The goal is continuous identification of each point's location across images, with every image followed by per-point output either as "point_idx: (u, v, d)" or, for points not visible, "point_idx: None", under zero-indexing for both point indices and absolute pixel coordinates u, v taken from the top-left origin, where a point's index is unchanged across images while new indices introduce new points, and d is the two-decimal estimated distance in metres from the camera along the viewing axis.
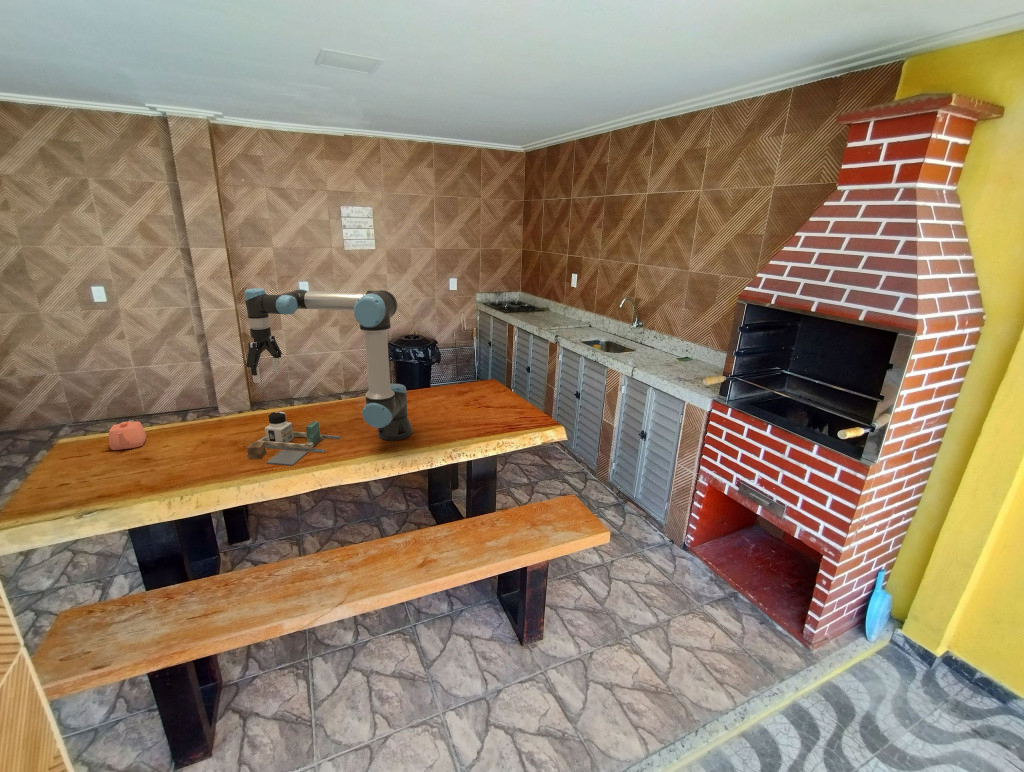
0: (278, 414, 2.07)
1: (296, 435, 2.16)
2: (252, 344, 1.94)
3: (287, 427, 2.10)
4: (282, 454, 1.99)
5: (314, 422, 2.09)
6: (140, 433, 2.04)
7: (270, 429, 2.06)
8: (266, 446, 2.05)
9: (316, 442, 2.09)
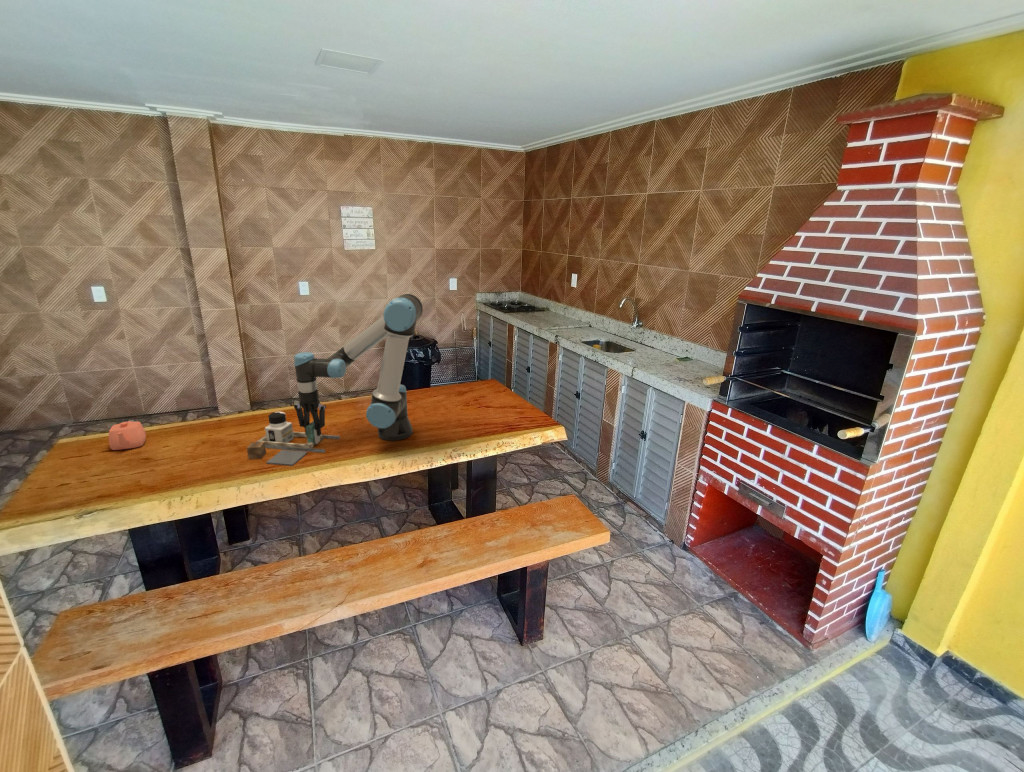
0: (278, 414, 2.07)
1: (296, 435, 2.16)
2: None
3: (287, 427, 2.09)
4: (282, 454, 1.99)
5: None
6: (140, 433, 2.04)
7: (270, 429, 2.06)
8: (266, 446, 2.05)
9: None
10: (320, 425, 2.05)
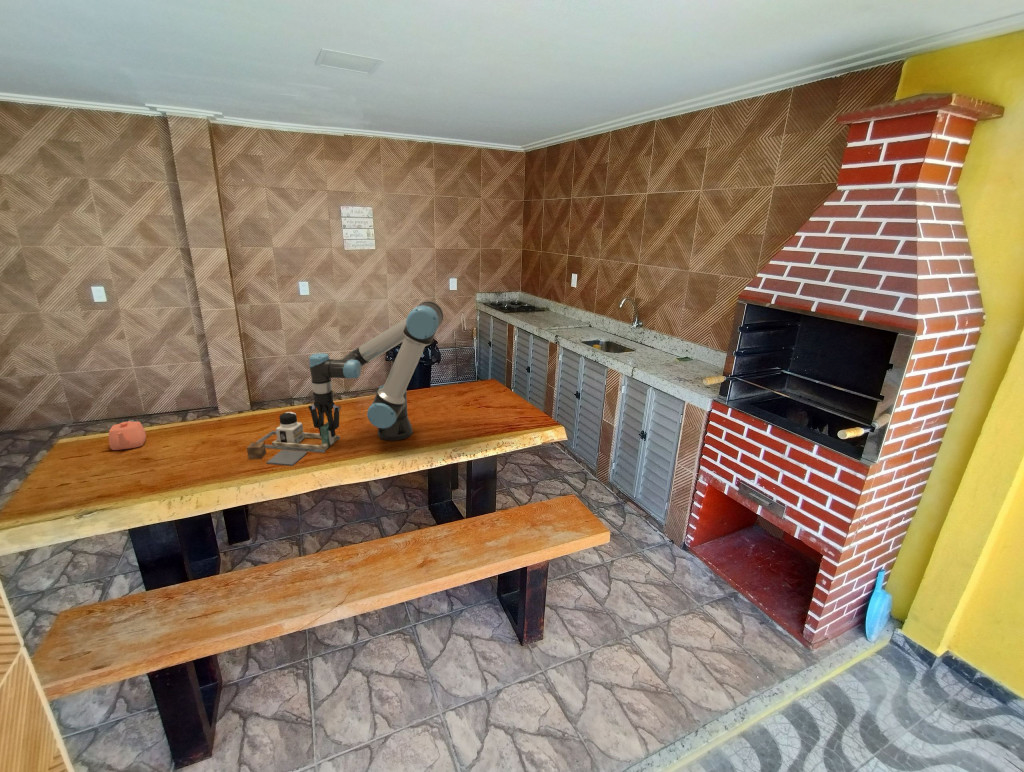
0: (289, 414, 2.07)
1: (309, 436, 2.15)
2: None
3: (298, 427, 2.09)
4: (282, 454, 1.99)
5: None
6: (140, 433, 2.04)
7: (281, 430, 2.06)
8: (266, 446, 2.05)
9: None
10: (335, 426, 2.05)
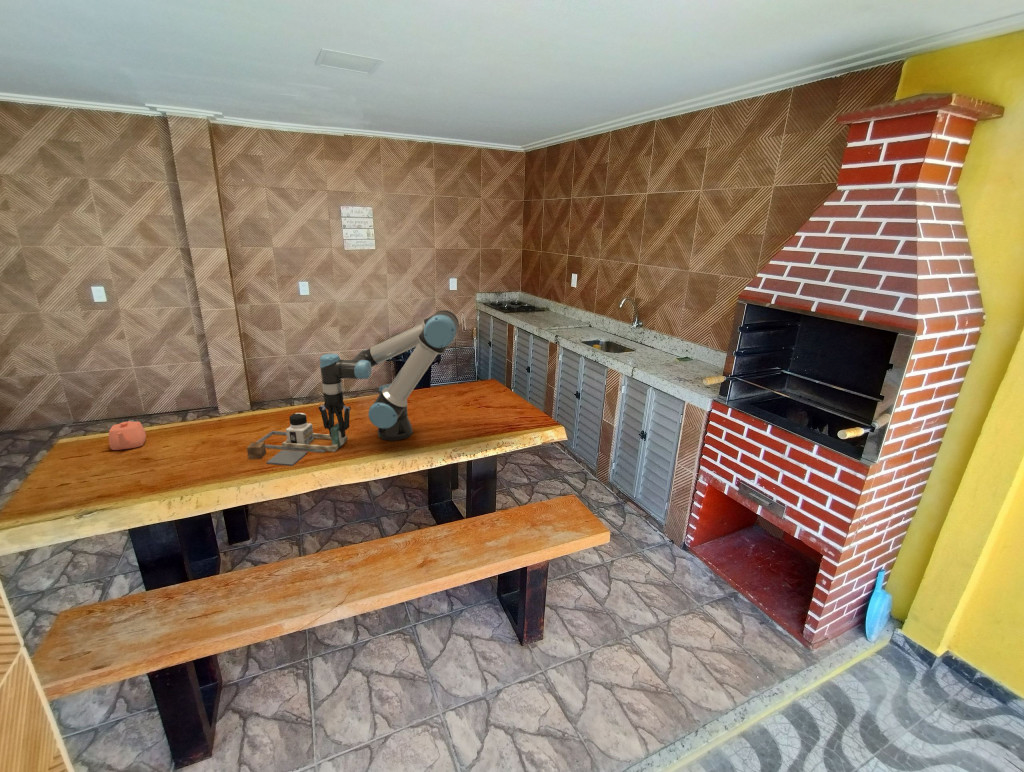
0: (299, 415, 2.06)
1: (319, 437, 2.15)
2: None
3: (308, 428, 2.09)
4: (282, 454, 1.99)
5: (338, 424, 2.07)
6: (140, 433, 2.04)
7: (291, 431, 2.05)
8: (266, 446, 2.05)
9: None
10: (345, 427, 2.04)
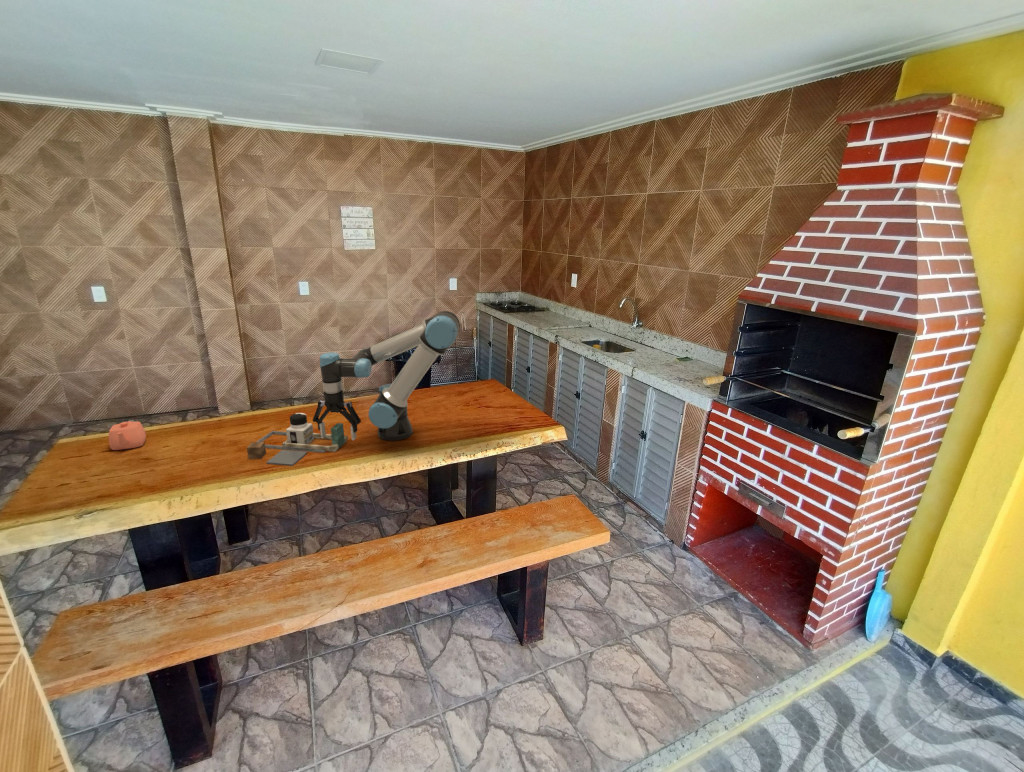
0: (299, 415, 2.06)
1: (319, 437, 2.15)
2: None
3: (308, 428, 2.09)
4: (282, 454, 1.99)
5: (339, 424, 2.07)
6: (140, 433, 2.04)
7: (292, 431, 2.05)
8: (266, 446, 2.05)
9: (340, 444, 2.07)
10: (356, 422, 2.02)
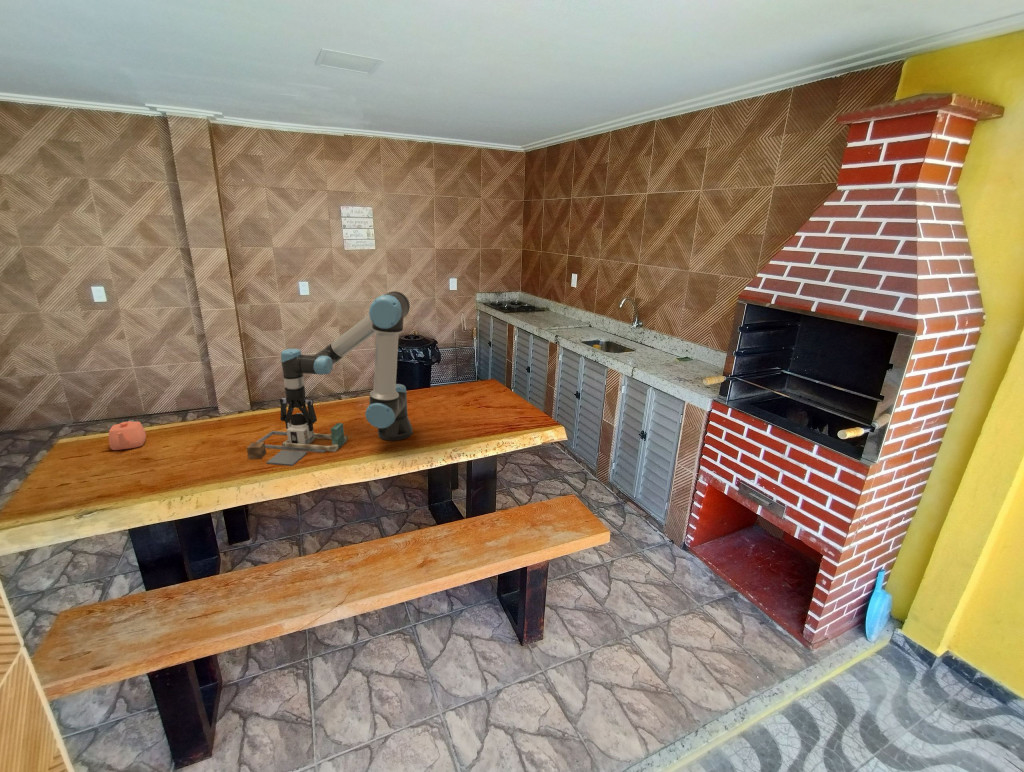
0: (300, 415, 2.06)
1: (319, 437, 2.15)
2: None
3: None
4: (282, 454, 1.99)
5: (339, 424, 2.07)
6: (140, 433, 2.04)
7: (292, 431, 2.05)
8: (266, 446, 2.05)
9: (340, 444, 2.07)
10: (312, 420, 2.05)
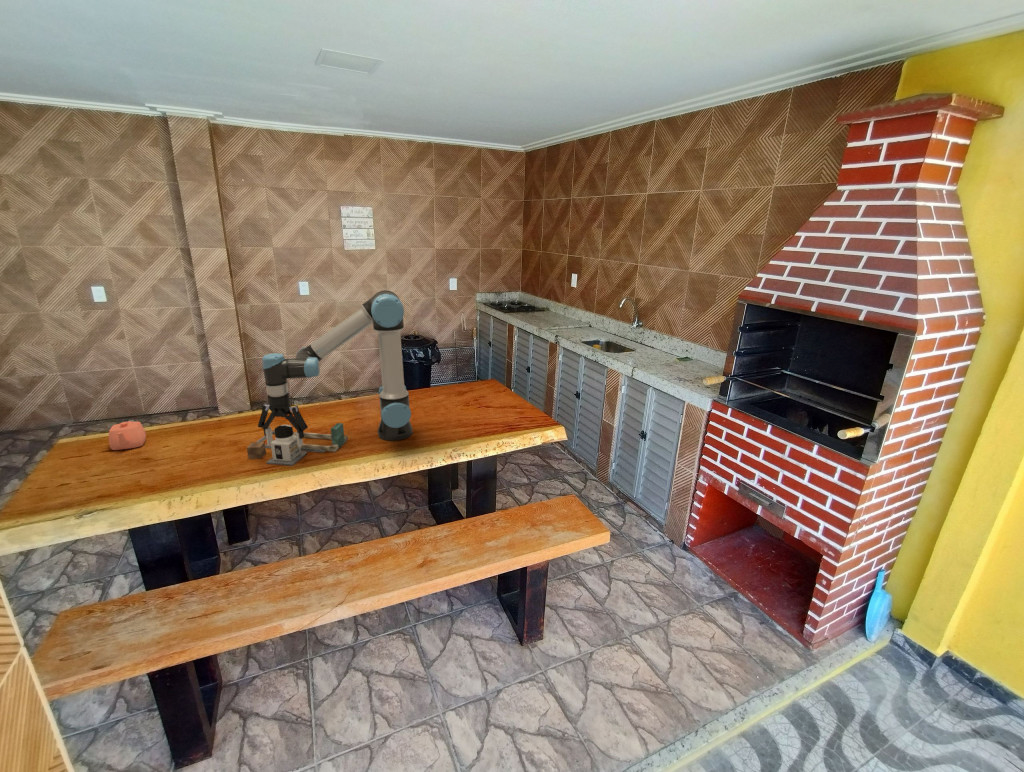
0: (285, 427, 1.93)
1: (319, 437, 2.15)
2: None
3: (295, 441, 1.95)
4: None
5: (339, 424, 2.07)
6: (140, 433, 2.04)
7: (276, 444, 1.92)
8: (266, 446, 2.05)
9: (340, 444, 2.07)
10: (302, 427, 1.91)
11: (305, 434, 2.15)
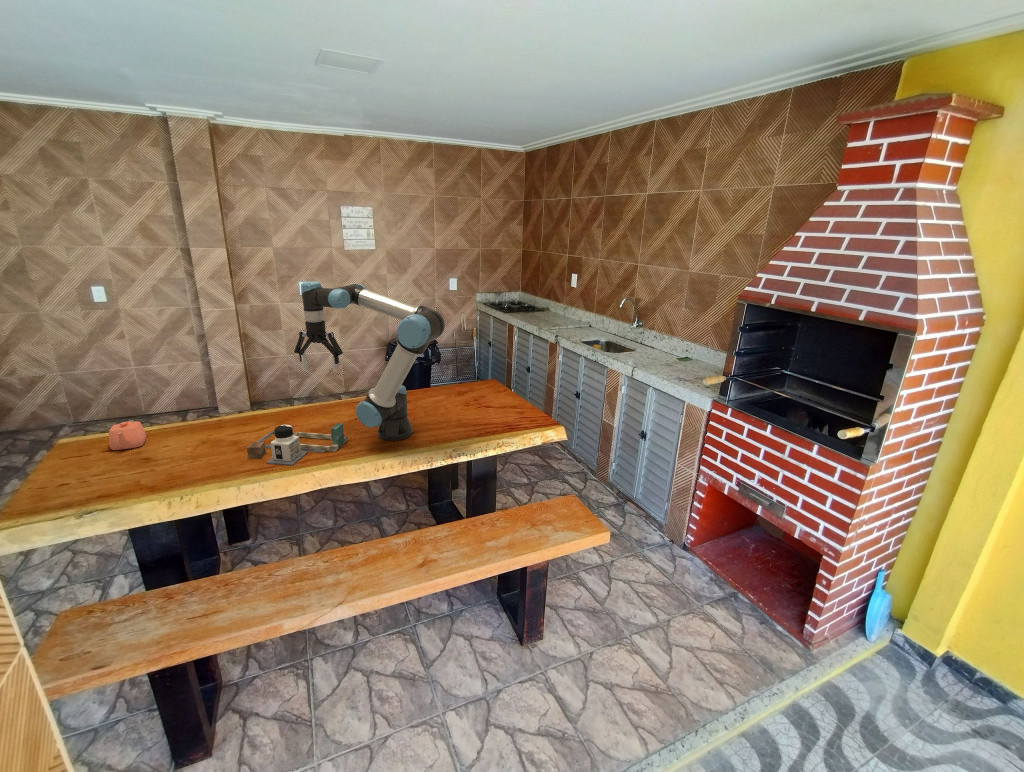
0: (285, 427, 1.93)
1: (319, 437, 2.15)
2: None
3: (294, 441, 1.95)
4: None
5: (339, 424, 2.07)
6: (140, 433, 2.04)
7: (276, 444, 1.92)
8: (266, 446, 2.05)
9: (340, 444, 2.07)
10: (337, 352, 2.02)
11: (305, 434, 2.15)
